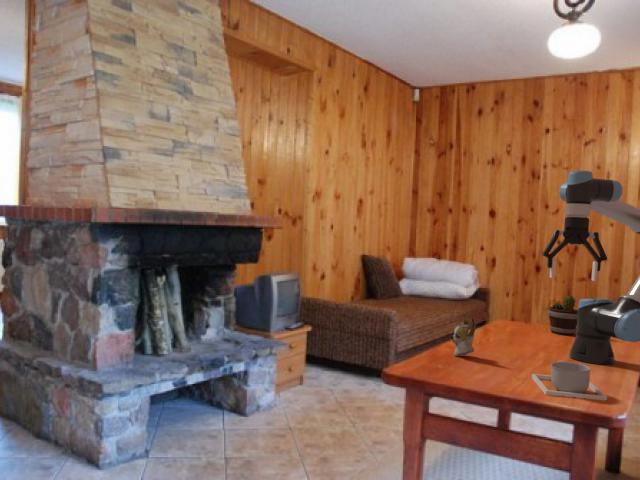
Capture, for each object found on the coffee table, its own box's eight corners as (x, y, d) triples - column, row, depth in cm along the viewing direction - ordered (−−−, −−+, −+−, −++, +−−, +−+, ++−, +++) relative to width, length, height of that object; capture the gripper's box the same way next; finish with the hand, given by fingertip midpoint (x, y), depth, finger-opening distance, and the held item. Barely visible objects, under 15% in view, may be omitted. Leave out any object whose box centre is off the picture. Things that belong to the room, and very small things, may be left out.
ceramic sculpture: (445, 352, 211) (448, 312, 210) (467, 353, 212) (470, 313, 211) (454, 359, 200) (457, 317, 200) (478, 360, 201) (481, 318, 200)
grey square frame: (586, 385, 178) (586, 379, 178) (606, 403, 159) (607, 396, 159) (531, 380, 180) (532, 373, 180) (545, 397, 162) (546, 390, 162)
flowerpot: (539, 329, 271) (542, 288, 271) (569, 331, 273) (572, 290, 272) (555, 336, 257) (558, 292, 256) (586, 337, 259) (589, 294, 258)
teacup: (593, 399, 161) (595, 371, 161) (552, 394, 163) (554, 367, 163) (580, 386, 175) (582, 360, 175) (543, 382, 177) (545, 356, 177)
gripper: (612, 219, 192) (607, 280, 193) (536, 215, 196) (531, 275, 196) (620, 218, 184) (615, 283, 185) (541, 214, 188) (536, 277, 189)
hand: (572, 279), depth 191 cm, fingers open, 13 cm apart
